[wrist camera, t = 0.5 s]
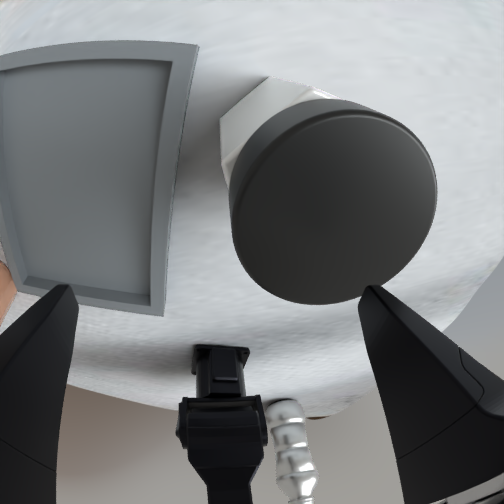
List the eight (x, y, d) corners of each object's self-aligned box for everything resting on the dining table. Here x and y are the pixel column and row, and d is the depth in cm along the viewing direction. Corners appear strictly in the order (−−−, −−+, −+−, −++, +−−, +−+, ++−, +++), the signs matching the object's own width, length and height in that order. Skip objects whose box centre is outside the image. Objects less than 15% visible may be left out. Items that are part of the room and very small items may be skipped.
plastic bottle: (263, 398, 43) (282, 512, 27) (304, 393, 44) (329, 502, 28) (262, 412, 47) (278, 512, 31) (299, 407, 48) (320, 505, 32)
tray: (165, 301, 27) (163, 316, 26) (24, 278, 24) (17, 291, 22) (199, 47, 15) (197, 45, 13) (1, 56, 11) (-14, 59, 10)
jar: (203, 172, 20) (194, 291, 11) (237, 64, 16) (267, 61, 6) (314, 201, 23) (379, 316, 13) (356, 109, 18) (473, 172, 9)
